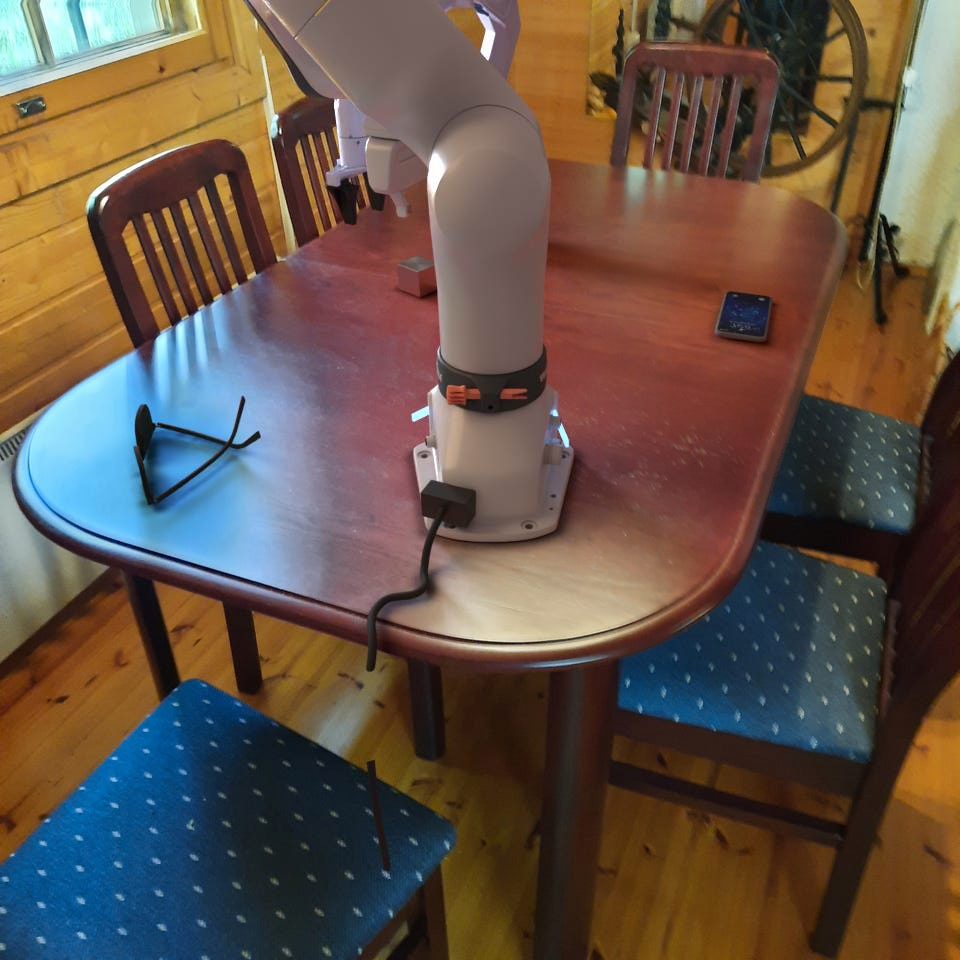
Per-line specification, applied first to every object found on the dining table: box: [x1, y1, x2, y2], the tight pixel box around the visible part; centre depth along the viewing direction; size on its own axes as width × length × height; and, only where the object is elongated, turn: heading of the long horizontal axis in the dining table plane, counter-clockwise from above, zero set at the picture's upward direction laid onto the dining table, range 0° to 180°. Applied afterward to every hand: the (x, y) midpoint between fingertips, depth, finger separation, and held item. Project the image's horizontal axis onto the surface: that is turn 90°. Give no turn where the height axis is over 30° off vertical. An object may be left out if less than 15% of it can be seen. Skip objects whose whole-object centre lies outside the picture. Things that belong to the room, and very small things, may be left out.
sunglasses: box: [132, 395, 262, 506], centre depth 100 cm, size 17×14×5 cm
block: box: [396, 255, 438, 298], centre depth 138 cm, size 4×5×4 cm
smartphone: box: [714, 290, 774, 343], centre depth 128 cm, size 7×1×15 cm
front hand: (422, 206), depth 132 cm, fingers open, 8 cm apart
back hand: (364, 216), depth 146 cm, fingers open, 7 cm apart
